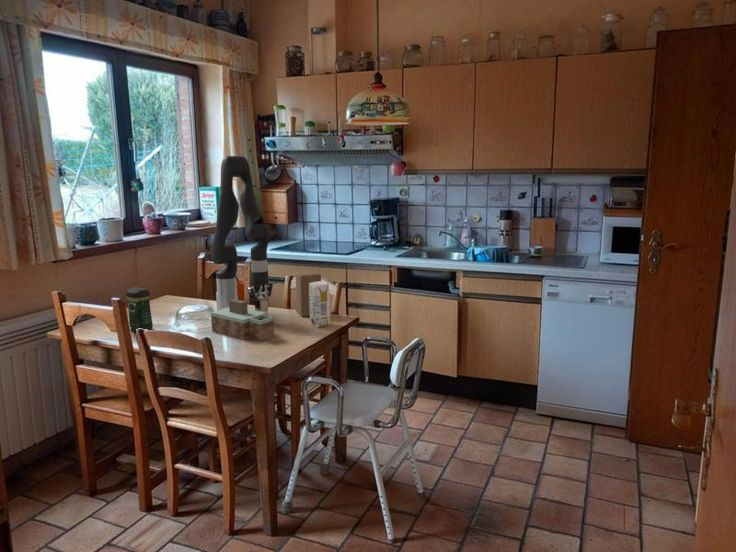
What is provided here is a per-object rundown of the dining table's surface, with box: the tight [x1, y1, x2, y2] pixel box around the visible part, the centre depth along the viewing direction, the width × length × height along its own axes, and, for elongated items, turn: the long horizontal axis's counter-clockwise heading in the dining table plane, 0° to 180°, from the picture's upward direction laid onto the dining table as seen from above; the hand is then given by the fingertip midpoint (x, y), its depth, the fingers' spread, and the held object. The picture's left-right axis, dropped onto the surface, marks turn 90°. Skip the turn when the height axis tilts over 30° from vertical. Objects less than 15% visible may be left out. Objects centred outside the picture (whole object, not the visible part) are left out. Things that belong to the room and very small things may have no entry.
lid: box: [210, 299, 274, 324], centre depth 239 cm, size 27×13×8 cm, turn 54°
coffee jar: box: [126, 286, 154, 332], centre depth 245 cm, size 10×8×19 cm
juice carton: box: [309, 280, 331, 329], centre depth 250 cm, size 8×9×19 cm
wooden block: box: [295, 270, 322, 318], centre depth 268 cm, size 10×10×20 cm
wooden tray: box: [210, 315, 275, 342], centre depth 240 cm, size 27×13×7 cm, turn 54°
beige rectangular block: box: [254, 296, 269, 316], centre depth 255 cm, size 4×4×11 cm
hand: (261, 307), depth 255 cm, fingers closed on beige rectangular block, 3 cm apart
